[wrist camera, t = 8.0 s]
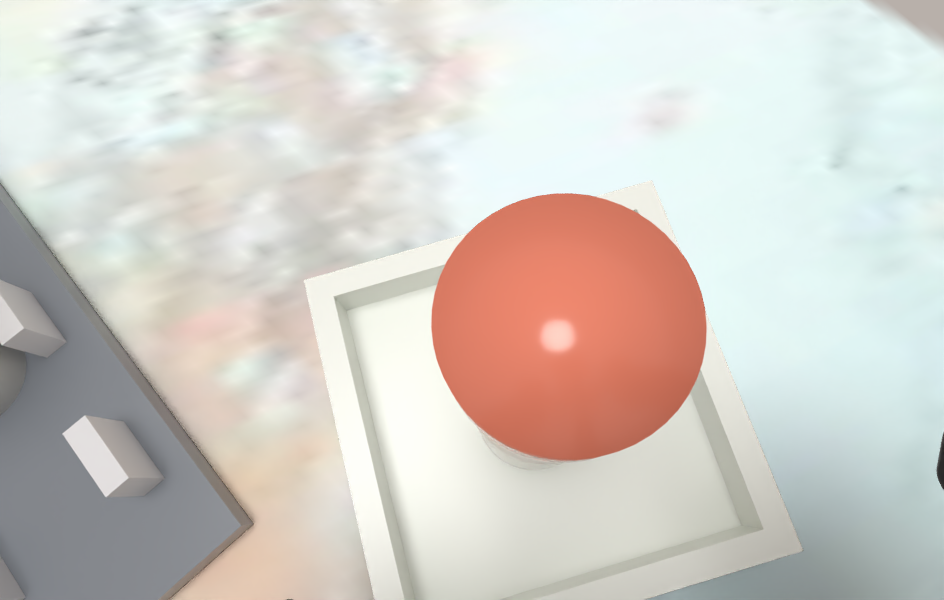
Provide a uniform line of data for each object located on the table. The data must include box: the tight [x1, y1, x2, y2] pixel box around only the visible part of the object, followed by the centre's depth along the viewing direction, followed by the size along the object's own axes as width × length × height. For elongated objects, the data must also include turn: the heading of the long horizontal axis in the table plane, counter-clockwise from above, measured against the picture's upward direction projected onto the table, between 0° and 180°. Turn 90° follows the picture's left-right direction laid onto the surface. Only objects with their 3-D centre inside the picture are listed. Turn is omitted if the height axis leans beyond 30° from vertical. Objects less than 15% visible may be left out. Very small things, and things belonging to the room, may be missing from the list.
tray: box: [304, 180, 803, 600], centre depth 20 cm, size 12×12×2 cm
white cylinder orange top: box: [431, 194, 707, 470], centre depth 15 cm, size 4×4×12 cm
